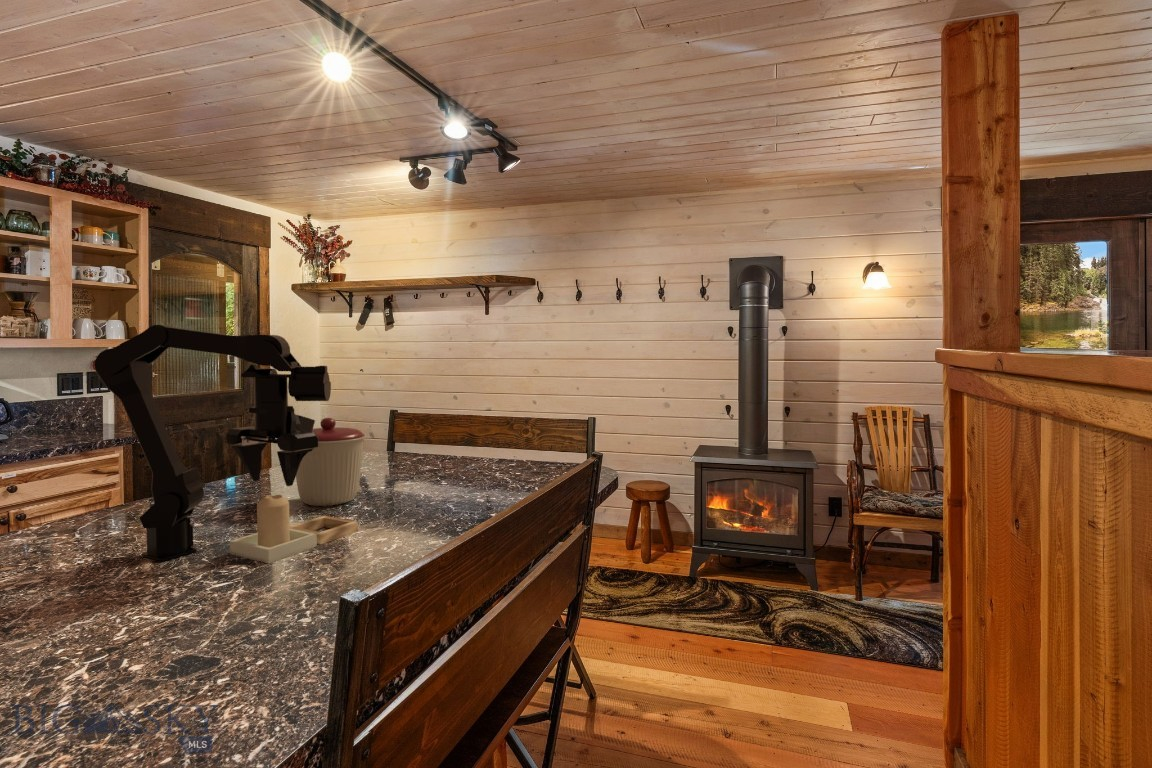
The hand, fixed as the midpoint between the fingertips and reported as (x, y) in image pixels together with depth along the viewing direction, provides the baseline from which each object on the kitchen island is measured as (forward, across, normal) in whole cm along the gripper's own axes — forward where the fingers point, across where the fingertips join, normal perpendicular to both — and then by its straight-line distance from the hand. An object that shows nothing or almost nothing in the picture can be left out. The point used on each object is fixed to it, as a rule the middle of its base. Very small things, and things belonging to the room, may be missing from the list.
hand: (272, 483), depth 118 cm
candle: (+13, 0, 0) cm, 13 cm away
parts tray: (+13, 0, 0) cm, 13 cm away
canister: (+13, +20, -31) cm, 39 cm away
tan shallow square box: (+13, 0, -11) cm, 17 cm away
